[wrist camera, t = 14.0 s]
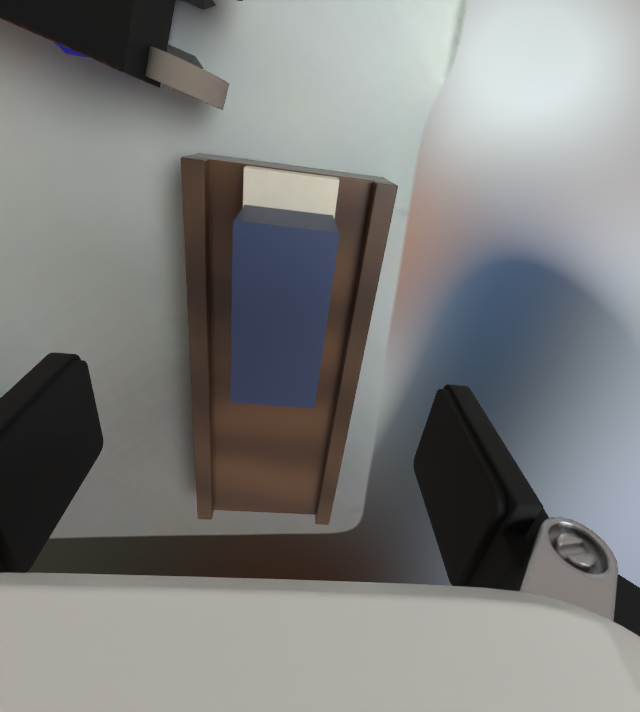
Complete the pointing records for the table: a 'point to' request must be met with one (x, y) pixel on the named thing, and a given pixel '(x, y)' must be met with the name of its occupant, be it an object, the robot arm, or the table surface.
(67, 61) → the table surface
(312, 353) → the blue milk carton
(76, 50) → the figurine character
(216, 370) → the brown wooden tray
